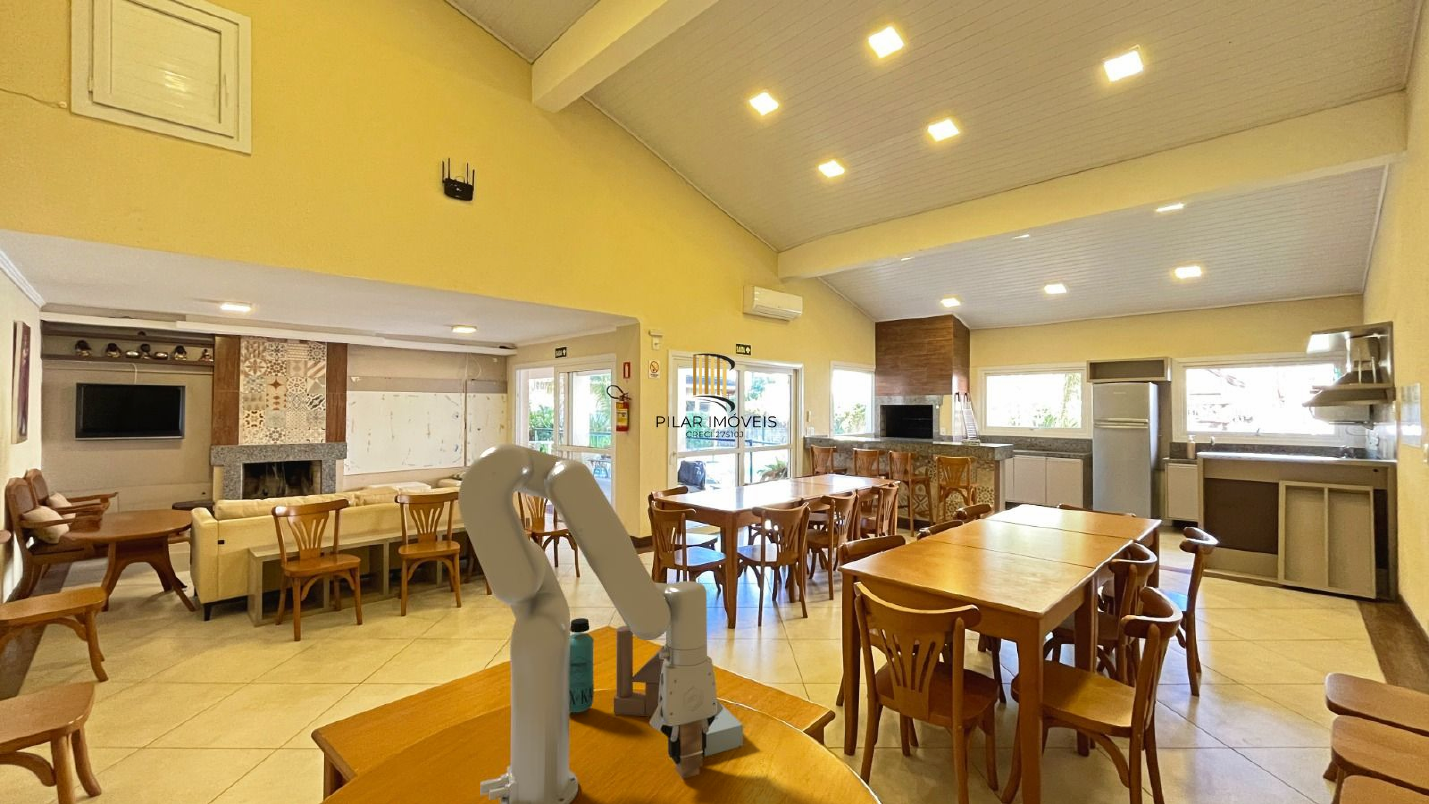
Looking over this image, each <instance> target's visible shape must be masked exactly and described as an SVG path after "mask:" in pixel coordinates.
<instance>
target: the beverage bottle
mask: <svg viewBox="0 0 1429 804" xmlns="http://www.w3.org/2000/svg"><path fill="white" fill-rule="evenodd" d="M589 630H590V622H589V619H588V618H585V617H584V618H583V617H581V618H575V619H572V620H570V633H573V634H570V659H569V713H580V712H585V711H587V710H589V709H590V708H591V707H592V706H593V703H594V697H595V696H594V694H595V692H594V691H595V690H594V685H595V681H594V673H595V671H594V666H595V664H594V641H595V639H594V637H592V635H590V634H589V633H587V632H588V631H589Z"/></svg>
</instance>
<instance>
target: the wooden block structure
mask: <svg viewBox="0 0 1429 804" xmlns="http://www.w3.org/2000/svg"><path fill="white" fill-rule="evenodd" d="M633 643H634V634H633V633H632V632H631V631H630V630H629V628H628V627H627V625H623V626H619V627H617V629H616V689H615V690H616V693H615V696H614V698H613V714H614V715H623V716H636V717H648V718H649V717H650V718H652V716H653V714H654V712H655V711H656V709H657V707H658V697H659V683H660V676H661V670H662V665H663V661H664V660H666V659H664V658H663V659H660V658H659V651H663V650H664V649H665V644H664V645H662V646H661V648H659V649H658V650H657V651H656V652H655V653H654V654H653V655H652V656H651V657H650V658H649V659H648V660H647V661H646V663H644V664H643V665H642V667H640V668H639V669H638V671H636V673H634V644H633ZM634 683H644V685H645V687H644V688H645V694H644V693H643V692H641V691H640V692H638V691H634Z"/></svg>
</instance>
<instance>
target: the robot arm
mask: <svg viewBox="0 0 1429 804" xmlns="http://www.w3.org/2000/svg"><path fill="white" fill-rule="evenodd" d="M458 490H459V491H458V496H457V497H458V499H457V500H458V509H459V514H460V517H461V520H462V522H463V523H462V524H463V526H464V527H465V530H466V533H467V535H468V537H469V540H470V543H471V544H472V548H473V550H474V553H475V555H476V558H477V560H478V562H479V564H480V566H481V569H482V571H483V573H484V576H485V578H486V580H487V584H488V586H489V588H490V590H491V593H492V594H493V595H494V596H495V598H496V599H497V600H499V601H500V602H501V603H503V604H505V605H509V608H510V609H511V611H512V614H513V617H514V619H515V620H514V624H513V627H512V631H511V634H510V635H511V636H510V643H509V655H510V656H509V659H510V661H509V662H510V707H511V708H510V710H511V711H510V716H511V717H510V765H508V766H506V773H503V774H500V777H497V778H491V779H490V778H489V779H488V780H487V779H486V780H482V781H480V791H479V792H480V796H484V795H488V799H489V801H493V800H496V799H498V798H499V804H500V803H501V804H570V803H572V801H574V799H575V798H576V796H577V794H578V792H579V791H578V790H579V781H578V777H577V776H576V775H575V773H574V772H573V771H571V770H570V712H569V659H570V636H571V631H570V627H571V611H570V607H569V604H568V603H569V602H568V601H567V598H566V596H565V594H564V591H563V590H562V588H561V585H560V583H559V580H558V579H557V576H556V574H555V571H554V568H553V566H552V564H551V562H550V559H549V558H548V556H547V554H546V552H545V550H544V549H543V548H542V547H541V546H540V544H538V543H537V542H535V541H534V540H530V539H529V537H528V534H527V532H526V530H525V528H524V525H523V521H522V519H521V517H520V515H519V513H518V511H517V510H516V508H515V504H514V495H515V492H517V493H520V494H525V495H528V496H532V497H537V498H540V499H545V500H549V502H550V503H551V505H552V506H553V508H554V509H555V510H554V511H556V513H557V514H558V516H559V518H560V519H561V521H562V522H563V523H564V525H565V527H566V529H567V530H568V532H569V533H570V534H571V536H572V538H573V541H574V542H575V543H576V545H577V547H578V548H579V550H580V552H581V553H582V555H583V557H584V558H585V561H586V562H587V563H588V566H589V568H590V569H591V570H592V572H593V573H594V574H595V576H596V577H597V579H598V580H599V582H600V584H601V585H602V587H603V589H604V591H605V592H606V594H607V596H608V597H609V599H610V601H611V603H612V604H613V605H614V608H615V609H616V611H617V612H618V614H619V616H620V617H621V619H622V620H623V621H624V624H625V626H627V627H628V628H629V630H630V631H631V632H632V633H633V636H635V637H636V638H638V639H640V640H644V641H653V640H656V639H658V638H660V637H661V636H662V635H665V643H664V646H665V649H664V650H663V651H659V658H660V659H663V658H664V659H665V660H664V661H663V665H662V670H661V676H660V683H659V697H658V707H657V709H656V711H655V712H654V714H653V716H652V717H650V720H649V725H650V726H651V727H652V729H654V730H656V731H659V732H661V733H662V734H664V735H665V736H666V737H667V754H668V756H669V758H670V759H672V761H673V762H674V764H675V763H676V764H679V763H680V740H679V739H678V730H679V725H683V724H687V723H691V722H695V721H699V720H702V751H703V753H702V758H705V757H706V756H705V748H706V733H707V732H708V731H709V727H710V725H711V724H712V722H713V721H714V719H715V717H717V716H718V715H719V713H720V712H721V711H722V710H723V707H722V705H723V704H722V703H721V702H720V701H719V700H718V697H717V696H718V693H717V684H716V683H717V682H716V676H715V670H714V664H713V659H712V658H711V657H710V656H708V622H707V621H708V615H707V614H708V612H707V611H708V610H707V609H708V608H707V605H708V604H707V601H708V600H707V590H706V587H705V586H704V584H702V583H701V582H697V581H692V580H691V581H690V580H688V581H686V580H684V581H677V582H674V583H666V582H665V583H664V582H663V583H662V582H655V581H654V580H653V578H652V577H651V575H650V573H649V572H648V570H647V568H646V567H645V565H644V563H643V562H642V559H641V558H640V556H639V554H638V552H637V549H636V548H635V545H634V543H633V540H632V538H631V537H630V534H629V532H628V531H627V529H626V527H625V526H624V524H623V522H622V521H621V519H620V518H619V516H618V514H617V513H616V511H615V509H614V507H613V506H612V505H611V503H610V501H609V500H608V498H607V496H606V494H605V493H604V492H603V490H602V488H601V487H600V485H599V483H598V482H597V479H596V478H595V477H594V475H593V474H592V472H591V469H589V467H588V466H587V465H586V464H584V462H581V461H578V460H576V459H570V458H567V457H562V456H557V455H554V454H550V453H548V452H547V453H546V452H544V451H541V450H540V451H539V450H536V449H532V448H529V447H525V446H522V445H519V444H513V443H509V444H508V443H502V444H498V445H494V446H492V447H490V448H487V449H486V450H484V451H483V452H482V453H481V454H480V455H478V456H477V457H476V458H475V459H474V461H473V462H472V463H471V464H470V465H469V466H468V467H467V470H466V471H465V474H464V475H463V477H462V479H461V482H460V485H459V489H458ZM720 703H721V704H722V705H721V704H720ZM662 717H663V718H664V721H665V723H666V724H667V725H666V724H665V723H664V722H661V719H662ZM704 756H705V757H704ZM676 764H675V765H676Z"/></svg>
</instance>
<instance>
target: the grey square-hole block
mask: <svg viewBox="0 0 1429 804" xmlns="http://www.w3.org/2000/svg"><path fill="white" fill-rule="evenodd" d="M720 704H721V705H722V707H723V710H722V711H721V712H720V713H719V715H718V716H717V717H715V719H714V721H713V722H712V724H711V725H710V727H709V731H708V732H707V733H706V748H705V756H704V757H703V758H705V757H708V756H712V755H715V754H718V753H720V754H721V753H722V752H727V751H729V750H730V751H731V750H734V749H736V748H740V747H739V746H741V747H743V746H744V740H743V739H744V733H743V732H744V729H743V728H744V727H743V726H744V724H743V723H741V721H739V719H737V718H736V716H735V715H733V714H732V713H731V712H730V711H729V710H728V709H727V708H726V707H725V706H724V705H723V704H722V703H721V702H720ZM661 722H664V723H665V721H664V718H663V717H662V719H661ZM665 724H666V723H665ZM666 725H667V724H666Z"/></svg>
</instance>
